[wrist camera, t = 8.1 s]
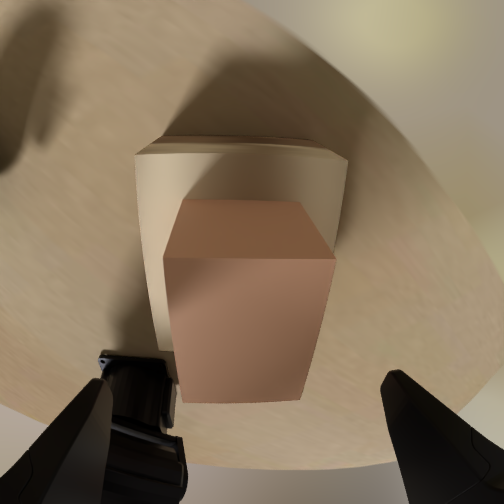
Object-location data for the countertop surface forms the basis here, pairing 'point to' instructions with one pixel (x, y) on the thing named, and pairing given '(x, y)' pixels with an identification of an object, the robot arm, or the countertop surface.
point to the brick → (245, 298)
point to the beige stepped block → (228, 191)
